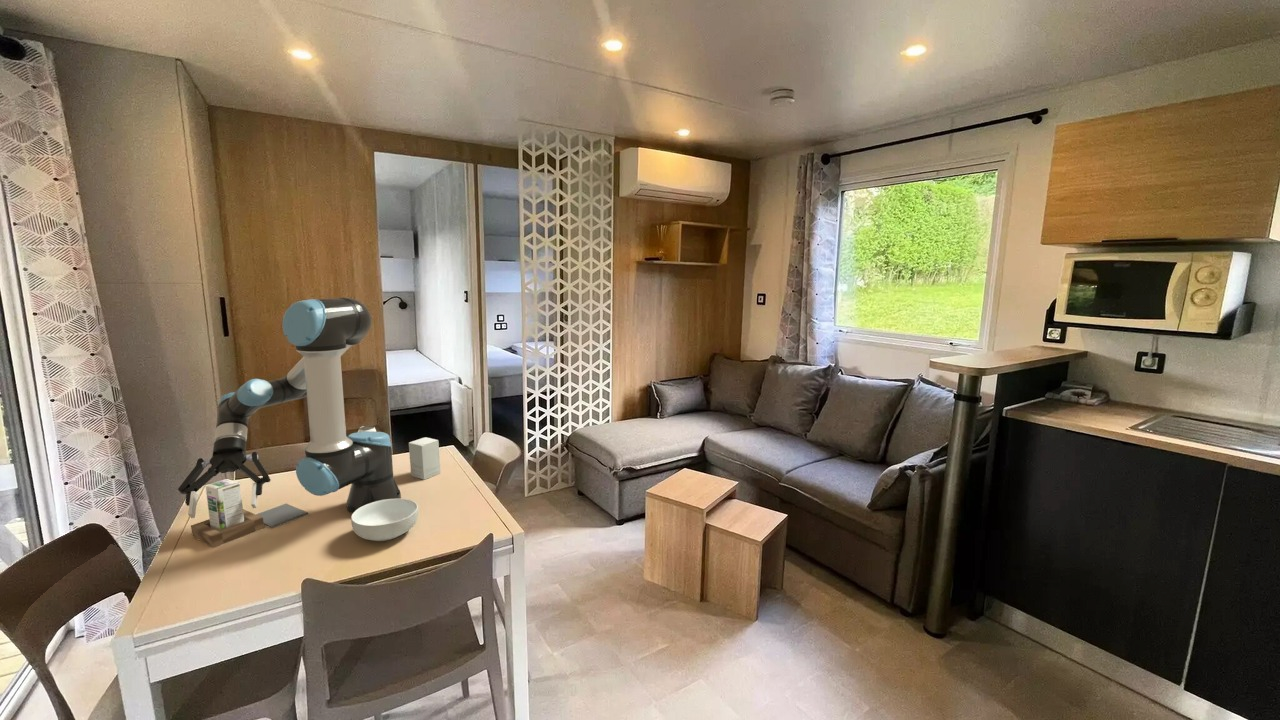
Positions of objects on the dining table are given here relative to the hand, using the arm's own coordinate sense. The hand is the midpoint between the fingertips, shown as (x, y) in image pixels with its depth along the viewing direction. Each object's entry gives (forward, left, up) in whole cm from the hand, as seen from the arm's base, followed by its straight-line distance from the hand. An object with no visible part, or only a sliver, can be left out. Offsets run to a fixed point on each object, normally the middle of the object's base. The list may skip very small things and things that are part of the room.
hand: (223, 511), depth 140 cm
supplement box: (-11, -56, -7) cm, 58 cm away
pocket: (+2, -1, -7) cm, 8 cm away
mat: (0, -13, -7) cm, 15 cm away
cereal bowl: (-37, -22, -8) cm, 44 cm away
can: (+23, -57, -7) cm, 62 cm away
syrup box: (+2, -1, -7) cm, 8 cm away
